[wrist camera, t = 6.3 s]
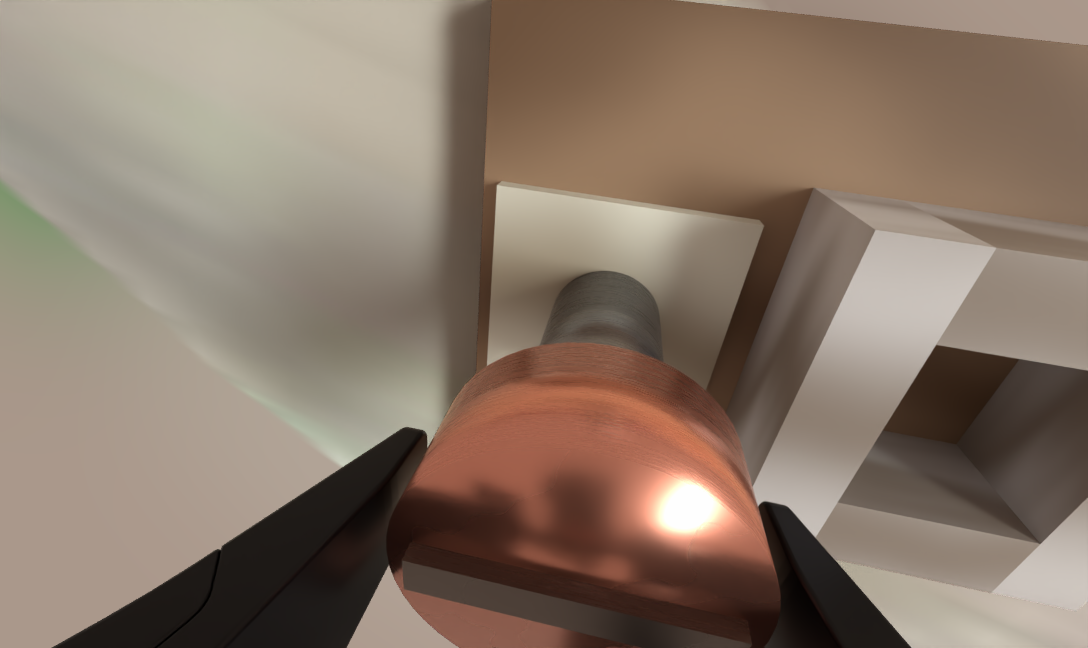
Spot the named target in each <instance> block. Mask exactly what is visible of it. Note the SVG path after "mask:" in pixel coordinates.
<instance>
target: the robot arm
mask: <svg viewBox="0 0 1088 648" xmlns="http://www.w3.org/2000/svg"><path fill="white" fill-rule="evenodd" d="M426 450H427V434H426V432H425V431H423V430H420V429H415V428H410V427H405V428H402V429H400V430H399V431H397V432H396V433H394V434H393V435H391V436H390V437H388V438H387V439H385V440H384V441H382V442H381V443H379V444H377V445H376V446H374V447H373V448H371V449H370V450H368V451H367V452H365V453H364V454H362V455H361V456H359V457H358V458H356V459H354V460H353V461H351V462H350V463H348V464H347V465H345V466H344V467H342V468H341V469H339V470H338V471H336V472H335V473H333V474H331V475H330V476H329V477H327V478H325V479H324V480H322V481H321V482H319V483H318V484H316V485H315V486H313V487H312V488H310V489H309V490H307V491H306V492H304V493H302V494H301V495H300V496H298V497H297V498H295V499H293V500H292V501H290V502H289V503H287V504H286V505H284V506H282V507H281V508H279V509H278V510H276V511H275V512H273V513H272V514H270V515H269V516H267V517H266V518H264V519H263V520H261V521H259V522H258V523H256V524H255V525H253V526H252V527H251V528H249V529H247V530H246V531H244V532H243V533H241V534H240V535H238V536H236V537H235V538H233V539H232V540H230V541H229V542H227V543H226V544H224V545H223V546H222V548H221V550H219V549H217V550H215V551H213V552H212V553H210V554H209V555H207V556H206V557H204V558H203V559H201V560H199V561H198V562H196V563H195V564H193V565H192V566H190V567H188V568H187V569H185V570H184V571H182V572H181V573H179V574H178V575H176V576H174V577H173V578H171V579H170V580H168V581H166V582H165V583H163V584H162V585H160V586H158V587H157V588H155V589H153V590H152V591H150V592H148V593H147V594H145V595H143V596H142V597H140V598H138V599H136V600H135V601H133V602H131V603H130V604H128V605H126V606H124V607H123V608H121V609H119V610H118V611H116V612H114V613H112V614H111V615H109V616H107V617H106V618H104V619H102V620H100V621H98V622H97V623H95V624H93V625H92V626H90V627H88V628H86V629H84V630H83V631H81V632H79V633H77V634H75V635H74V636H72V637H70V638H68V639H66V640H65V641H63V642H61V643H59V644H58V645H56V646H54V647H52V648H347V646H348V644H349V642H350V640H351V638H352V636H353V634H354V632H355V630H356V628H357V626H358V624H359V622H360V620H361V618H362V616H363V614H364V612H365V611H366V609H367V607H368V605H369V603H370V601H371V599H372V597H373V595H374V593H375V590H376V589H377V587H378V585H379V583H380V581H381V579H382V577H383V575H384V573H385V571H386V569H387V567H388V565H389V562H388V557H387V552H386V534H387V529H388V525H389V520H390V518H391V516H392V514H393V511H394V509H395V507H396V505H397V503H398V501H399V500H400V498H401V496H402V494H403V492H404V490H405V489H406V487H407V485H408V483H409V481H410V479H411V478H412V476H413V474H414V472H415V470H416V469H417V467H418V465H419V463H420V461H421V459H422V458H423V456H424V454H425V452H426ZM758 508H759V512H760V516H761V519H762V523H763V527H764V530H765V534H766V538H767V541H768V545H769V549H770V552H771V556H772V560H773V563H774V567H775V571H776V574H777V579H778V583H779V588H780V593H781V606H780V614H779V618H778V622H777V626H776V628H775V630H774V632H773V634H772V636H771V638H770V640H769V642H768V643H767V644H766V645H765V647H764V648H911V647H910V646H909V644H908V643H907V642H906V641H905V640H904V639H903V638H902V636H901V635H900V634H899V633H898V632H897V631H896V630H895V628H894V627H893V626H892V625H891V624H890V623H889V622H888V620H887V619H886V618H885V617H884V616H883V615H882V613H881V612H880V611H879V610H878V609H877V608H876V607H875V605H874V604H873V603H872V602H871V601H870V600H869V599H868V597H867V596H866V595H865V594H864V593H863V592H862V591H861V589H860V588H859V587H858V586H857V585H856V584H855V582H854V581H853V580H852V579H851V578H850V577H849V576H848V574H847V573H846V572H845V571H844V570H843V569H842V568H841V566H840V565H839V564H838V563H837V562H836V561H835V560H834V558H833V557H832V556H831V555H830V554H829V553H828V551H827V550H826V549H825V548H824V547H823V546H822V545H821V543H820V542H819V541H818V540H817V539H816V538H815V537H814V535H813V534H812V533H811V532H810V531H809V530H808V529H807V527H806V526H805V525H804V524H803V523H802V522H801V521H800V519H799V518H798V517H797V516H796V515H795V514H794V512H793V511H792V510H791V509H790V508H789V507H787V506H785V505H782V504H778V503H773V502H768V501H763V502H762V503H760V504H759V506H758Z"/></svg>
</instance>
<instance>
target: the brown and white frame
mask: <svg viewBox="0 0 1088 648" xmlns="http://www.w3.org/2000/svg"><path fill="white" fill-rule="evenodd" d="M595 271H614V272H619V273H623V274H625V275H628V276H630V277H632V278H634V279H636V280H637V281H639V282H640V283H642V284H643V285H644V286H645V287H646V288H647V289H648V290H649V291H650V293H651V294H652V295H653V297H654V299H655V301H656V303H657V305H658V309H659V314H660V324H661V336H662V347H663V358H664V363H666V364H668V365H670V366H672V367H674V368H676V369H677V370H679V371H680V372H682V373H683V374H685V375H686V376H688V377H689V378H691V379H692V380H694V381H695V382H697V383H698V384H699V385H700V386H701V387H702V388H703V389H705V390H706V391H707V392H708V393H709V394H710V395H711V396H712V397H713V398H714V399H715V400H716V401H717V403H718V404H719V405H720V406H721V407H722V408H723V410H724V411H725V413H726V414H727V416H728V417H729V419H730V421H731V422H732V424H733V425H734V428H735V430H736V432H737V435H738V437H739V440H740V442H741V446H742V450H743V453H744V457H745V461H746V464H747V468H748V472H749V475H750V479H751V483H752V486H753V490H754V494H755V497H756V501H757V505H758V506H759V504H760V503H762V502H763V501H768V502H773V503H778V504H782V505H785V506H787V507H789V508H790V509H791V510H792V511H793V512H794V514H795V515H796V516H797V517H798V518H799V519H800V521H801V522H802V523H803V524H804V525H805V526H806V527H807V529H808V530H809V531H810V532H811V533H812V534H813V535H814V537H815V538H816V539H817V540H818V541H819V542H820V543H821V545H822V546H823V547H824V548H825V549H826V550H827V551H828V553H829V554H830V555H831V556H832V557H833V558H834V559H835V560H840V561H844V562H849V563H854V564H858V565H863V566H867V567H872V568H877V569H881V570H886V571H891V572H895V573H900V574H905V575H909V576H914V577H918V578H923V579H928V580H932V581H937V582H942V583H946V584H951V585H956V586H960V587H965V588H969V589H974V590H979V591H983V592H988V593H993V594H997V595H1002V596H1007V597H1011V598H1016V599H1021V600H1025V601H1030V602H1034V603H1039V604H1044V605H1048V606H1053V607H1058V608H1062V609H1067V610H1072V611H1077V610H1079V609H1080V608H1081V607H1082V606H1083V605H1085V604H1086V603H1087V602H1088V45H1079V44H1069V43H1060V42H1051V41H1042V40H1033V39H1023V38H1015V37H1005V36H996V35H986V34H977V33H969V32H959V31H950V30H941V29H932V28H923V27H914V26H905V25H896V24H886V23H876V22H868V21H859V20H850V19H841V18H832V17H823V16H813V15H804V14H795V13H786V12H777V11H768V10H759V9H749V8H740V7H731V6H722V5H713V4H704V3H695V2H685V1H676V0H492V4H491V28H490V51H489V75H488V99H487V123H486V147H485V170H484V194H483V218H482V242H481V265H480V289H479V313H478V337H477V361H476V374H477V373H478V372H480V371H481V370H482V369H484V368H485V367H486V366H488V365H489V364H491V363H493V362H495V361H497V360H499V359H501V358H503V357H505V356H507V355H510V354H512V353H515V352H518V351H521V350H523V349H527V348H532V347H536V346H539V345H540V342H541V340H542V337H543V334H544V331H545V328H546V325H547V322H548V320H549V317H550V314H551V311H552V308H553V305H554V303H555V300H556V298H557V296H558V294H559V293H560V292H561V290H562V289H563V288H564V287H565V286H566V285H567V284H568V283H569V282H571V281H572V280H573V279H575V278H577V277H579V276H581V275H584V274H586V273H590V272H595Z"/></svg>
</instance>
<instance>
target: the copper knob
mask: <svg viewBox="0 0 1088 648" xmlns="http://www.w3.org/2000/svg"><path fill="white" fill-rule="evenodd" d="M386 552H387V557H388V562H389V566H390V568H391V571H392V574H393V576H394V579H395V581H396V583H397V585H398V586H399V588H400V590H401V592H402V594H403V595H404V596H405V598H406V599H407V600H408V602H409V603H410V604H411V606H412V607H413V608H414V609H415V610H416V612H417V613H418V614H419V615H420V616H421V617H422V618H423V619H424V620H425V621H426V622H427V623H428V624H429V625H430V626H432V627H433V628H434V629H435V630H436V631H437V632H438V633H440V634H441V635H442V636H444V637H445V638H446V639H448V640H449V641H451V642H452V643H453V644H455V645H456V646H458V647H459V648H764V647H765V645H766V644H767V643H768V642H769V640H770V638H771V636H772V634H773V632H774V630H775V628H776V626H777V622H778V618H779V614H780V606H781V593H780V588H779V583H778V579H777V574H776V571H775V567H774V563H773V560H772V556H771V552H770V549H769V545H768V541H767V538H766V534H765V530H764V527H763V523H762V519H761V516H760V512H759V508H758V505H757V501H756V497H755V494H754V490H753V486H752V483H751V479H750V475H749V472H748V468H747V464H746V461H745V457H744V453H743V450H742V446H741V442H740V440H739V437H738V435H737V432H736V430H735V428H734V425H733V424H732V422H731V421H730V419H729V417H728V416H727V414H726V413H725V411H724V410H723V408H722V407H721V406H720V405H719V404H718V403H717V401H716V400H715V399H714V398H713V397H712V396H711V395H710V394H709V393H708V392H707V391H706V390H705V389H703V388H702V387H701V386H700V385H699V384H698V383H697V382H695V381H694V380H692V379H691V378H689V377H688V376H686V375H685V374H683V373H682V372H680V371H679V370H677V369H676V368H674V367H672V366H670V365H668V364H666V363H664V358H663V347H662V336H661V324H660V314H659V309H658V305H657V303H656V301H655V299H654V297H653V295H652V294H651V293H650V291H649V290H648V289H647V288H646V287H645V286H644V285H643V284H642V283H640V282H639V281H637V280H636V279H634V278H632V277H630V276H628V275H625V274H623V273H619V272H614V271H595V272H590V273H586V274H584V275H581V276H579V277H577V278H575V279H573V280H572V281H571V282H569V283H568V284H567V285H566V286H565V287H564V288H563V289H562V290H561V292H560V293H559V294H558V296H557V298H556V300H555V303H554V305H553V308H552V311H551V314H550V317H549V320H548V322H547V325H546V328H545V331H544V334H543V337H542V340H541V342H540V345H539V346H536V347H532V348H527V349H523V350H521V351H518V352H515V353H512V354H510V355H507V356H505V357H503V358H501V359H499V360H497V361H495V362H493V363H491V364H489V365H488V366H486V367H485V368H484V369H482V370H481V371H480V372H478V373H477V374H475V375H474V376H473V377H472V378H471V379H470V380H469V381H468V382H467V383H466V384H465V385H464V386H463V388H462V389H461V391H460V392H459V393H458V395H457V396H456V398H455V399H454V401H453V403H452V405H451V406H450V408H449V410H448V412H447V414H446V416H445V417H444V419H443V421H442V423H441V425H440V427H439V428H438V430H437V432H436V434H435V436H434V438H433V439H432V441H431V443H430V445H429V447H428V448H427V450H426V452H425V454H424V456H423V458H422V459H421V461H420V463H419V465H418V467H417V469H416V470H415V472H414V474H413V476H412V478H411V479H410V481H409V483H408V485H407V487H406V489H405V490H404V492H403V494H402V496H401V498H400V500H399V501H398V503H397V505H396V507H395V509H394V511H393V514H392V516H391V518H390V520H389V525H388V529H387V534H386Z"/></svg>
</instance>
